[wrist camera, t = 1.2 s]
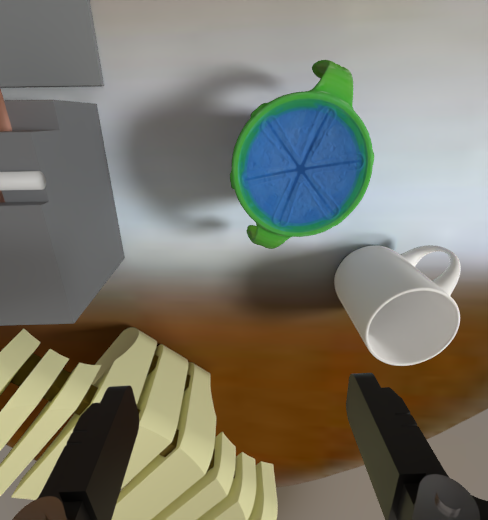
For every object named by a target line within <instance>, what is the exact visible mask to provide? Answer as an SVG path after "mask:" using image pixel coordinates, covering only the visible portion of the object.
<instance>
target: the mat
mask: <svg viewBox="0 0 488 520" xmlns="http://www.w3.org/2000/svg"><path fill="white" fill-rule="evenodd" d="M66 86H104V83H103V77H102V71H101V65H100V59H99V53H98V47H97V42H96V36H95V30H94V24H93V18H92V12H91V6H90V0H0V87H66Z"/></svg>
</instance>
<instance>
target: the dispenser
mask: <svg viewBox="0 0 488 520" xmlns="http://www.w3.org/2000/svg"><path fill="white" fill-rule="evenodd" d="M4 103H5V106H6V110H7V113H8V117H9V120H10V124H11V127H12V131H3V132H0V190H1V191H2V194H3V197H4V200H5V202H2V203H0V326H3V325H38V324H73V323H75V322H76V320H77V319H78V318H79V316H80V315H81V314H82V312H83V311H84V310H85V309H86V307H87V306H88V305H89V303H90V302H91V301H92V300H93V298H94V297H95V296H96V294H97V293H98V292H99V291H100V289H101V288H102V287H103V285H104V284H105V283H106V281H107V280H108V279H109V278H110V276H111V275H112V274H113V272H114V271H115V270H116V269H117V267H118V266H119V265H120V263H121V262H122V261H123V260H124V252H123V247H122V241H121V236H120V230H119V225H118V219H117V214H116V208H115V203H114V197H113V192H112V187H111V181H110V176H109V170H108V165H107V159H106V154H105V148H104V143H103V137H102V132H101V126H100V121H99V115H98V110H97V104H91V103H80V102H70V101H59V100H12V101H4Z"/></svg>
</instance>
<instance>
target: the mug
mask: <svg viewBox="0 0 488 520" xmlns="http://www.w3.org/2000/svg"><path fill="white" fill-rule="evenodd" d="M435 251H442V252H445V253H447V254H448V255H449V257H450V264H449V266H448V268H447V269H446V271H445V272H444V273H443V274H441V275H440V276H439V277H437V278H436V279H434V280H430V279H429V278H428V277H426V276H425V275H424V274H423V273H422V272H420V271H419V270H418V269H417V268H416V267H415V266H416V264H417V263H418V262H419V260H420V259H421V258H422V257H423V256H425V255H427V254H428V253H431V252H435ZM460 269H461V266H460V261H459V259H458V257H457V256H456V255H455V254H454V253H453V252H452V251H450V250H448V249H446V248H443V247H440V246H433V245H428V246H421V247H417V248H414V249H411V250H409V251H407V252H405V253H403V254H398V253H397V252H395V251H394V250H392V249H390V248H387V247H384V246H376V245H374V246H366V247H363V248H360V249H357V250H355V251H353V252H352V253H350V254H349V255H348V256H347V257H346V258H345V259H344V260H343V261H342V262H341V263H340V265H339V267H338V269H337V271H336V274H335V279H334V285H335V290H336V293H337V296H338V298H339V300H340V301H341V303H342V305H343V306H344V308H345V310H346V312H347V313H348V315H349V317H350V319H351V320H352V322H353V324H354V325H355V327H356V329H357V331H358V332H359V334H360V336H361V338H362V339H363V341H364V343H365V344H366V346H367V348H368V350H369V351H370V353H371V354H372V355H373V356H374V357H376V358H377V359H379V360H380V361H382V362H384V363H387V364H391V365H397V366H406V365H414V364H417V363H421V362H424V361H426V360H428V359H430V358H432V357H434V356H436V355H437V354H439V353H440V352H441V351H442V350H444V349H445V348H446V347H447V346H448V345H449V344H450V342H451V341H452V340H453V338H454V337H455V335H456V333H457V330H458V328H459V324H460V313H459V309H458V306H457V304H456V302H455V301H454V300H453V299H452V298H451V297H450V295H451V293H452V291H453V290H454V288H455V286H456V284H457V282H458V279H459V276H460Z"/></svg>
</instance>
